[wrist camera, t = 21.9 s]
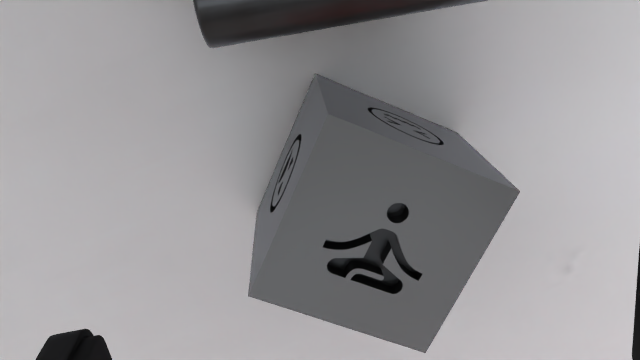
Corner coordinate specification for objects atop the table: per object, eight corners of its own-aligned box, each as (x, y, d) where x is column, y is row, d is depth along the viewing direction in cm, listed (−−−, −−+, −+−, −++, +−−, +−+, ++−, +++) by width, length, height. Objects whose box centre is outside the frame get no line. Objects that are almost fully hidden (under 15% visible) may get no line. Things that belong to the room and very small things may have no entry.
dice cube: (256, 212, 18) (248, 296, 14) (315, 73, 17) (327, 113, 12) (390, 259, 19) (425, 353, 15) (457, 132, 18) (520, 191, 13)
